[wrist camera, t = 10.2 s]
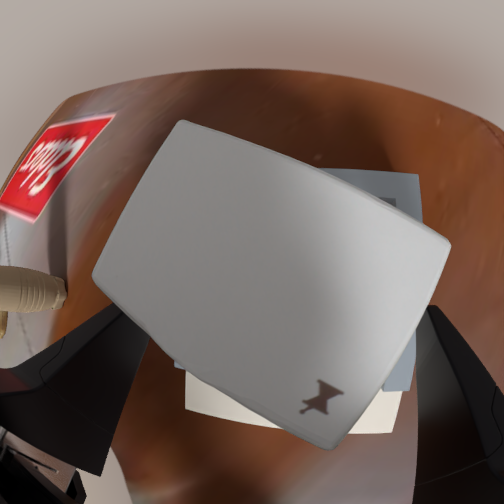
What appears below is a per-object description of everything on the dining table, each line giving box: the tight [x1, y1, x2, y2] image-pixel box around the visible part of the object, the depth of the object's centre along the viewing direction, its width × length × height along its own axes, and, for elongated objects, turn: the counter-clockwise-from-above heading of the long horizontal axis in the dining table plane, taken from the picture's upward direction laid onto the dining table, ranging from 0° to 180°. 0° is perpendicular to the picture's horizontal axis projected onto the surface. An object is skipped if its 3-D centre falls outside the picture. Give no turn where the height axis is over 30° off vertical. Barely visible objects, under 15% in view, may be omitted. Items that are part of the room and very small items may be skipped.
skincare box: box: [92, 120, 451, 450], centre depth 10 cm, size 6×4×12 cm
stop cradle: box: [174, 168, 423, 433], centre depth 15 cm, size 16×14×4 cm
